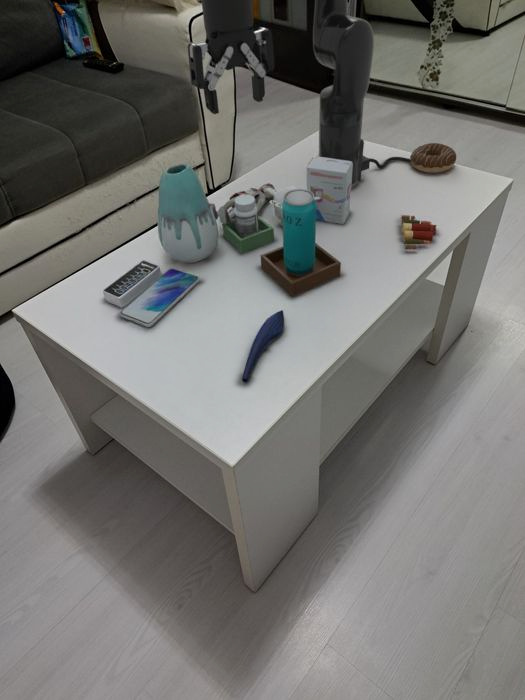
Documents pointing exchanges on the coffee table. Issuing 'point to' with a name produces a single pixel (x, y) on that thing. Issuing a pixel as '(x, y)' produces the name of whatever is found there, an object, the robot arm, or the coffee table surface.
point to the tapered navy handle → (263, 340)
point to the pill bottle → (246, 216)
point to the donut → (433, 158)
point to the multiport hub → (132, 283)
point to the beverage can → (299, 231)
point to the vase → (185, 215)
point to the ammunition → (416, 231)
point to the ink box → (330, 187)
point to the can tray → (294, 285)
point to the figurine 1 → (259, 195)
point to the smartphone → (159, 297)
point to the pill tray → (250, 241)
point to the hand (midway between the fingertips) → (236, 106)
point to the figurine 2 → (280, 200)
